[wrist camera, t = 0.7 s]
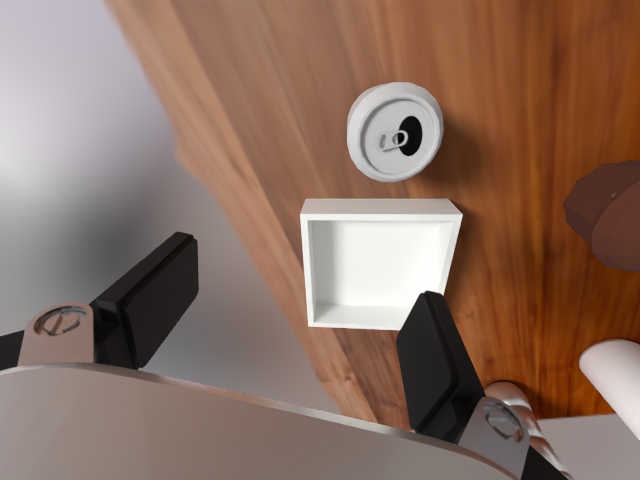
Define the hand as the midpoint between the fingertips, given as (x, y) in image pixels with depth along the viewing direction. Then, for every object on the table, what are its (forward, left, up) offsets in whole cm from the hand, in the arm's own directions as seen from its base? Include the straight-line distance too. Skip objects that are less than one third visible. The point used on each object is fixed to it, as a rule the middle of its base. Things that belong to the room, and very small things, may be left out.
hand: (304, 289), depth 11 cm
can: (-5, -4, -25) cm, 26 cm away
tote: (-5, +14, -25) cm, 29 cm away
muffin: (-32, +5, -25) cm, 41 cm away
